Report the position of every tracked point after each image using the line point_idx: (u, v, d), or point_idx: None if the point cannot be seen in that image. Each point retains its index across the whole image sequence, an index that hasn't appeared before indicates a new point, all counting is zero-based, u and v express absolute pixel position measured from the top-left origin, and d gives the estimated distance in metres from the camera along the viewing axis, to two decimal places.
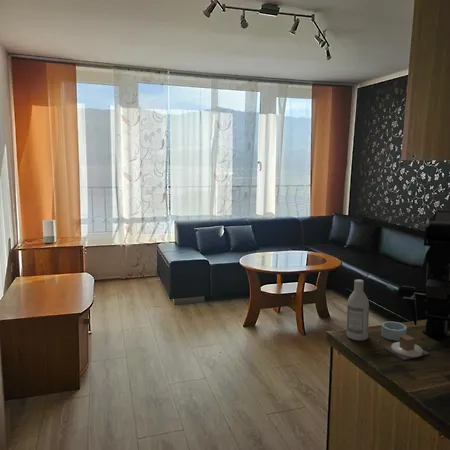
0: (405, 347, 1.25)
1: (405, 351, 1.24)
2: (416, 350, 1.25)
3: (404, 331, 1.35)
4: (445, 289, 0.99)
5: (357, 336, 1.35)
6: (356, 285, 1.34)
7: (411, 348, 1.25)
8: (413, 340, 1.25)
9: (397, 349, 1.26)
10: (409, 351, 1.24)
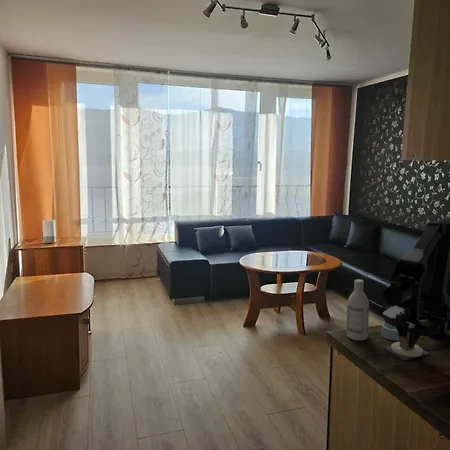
0: (405, 347, 1.25)
1: (405, 351, 1.24)
2: (416, 350, 1.25)
3: None
4: (392, 319, 1.20)
5: (357, 336, 1.35)
6: (356, 285, 1.34)
7: (411, 348, 1.25)
8: None
9: (397, 349, 1.26)
10: (409, 351, 1.24)
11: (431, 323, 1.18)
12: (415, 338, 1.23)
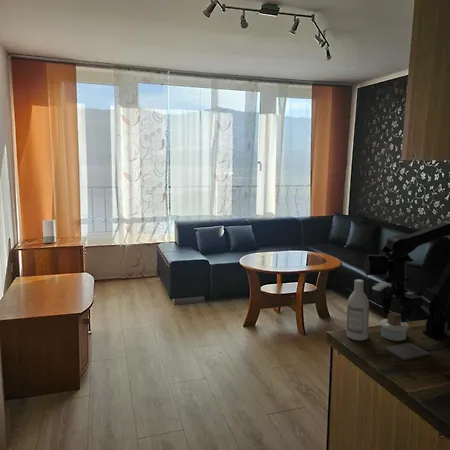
0: (392, 322, 1.36)
1: (392, 326, 1.36)
2: (402, 325, 1.36)
3: (404, 331, 1.35)
4: (380, 292, 1.31)
5: (357, 336, 1.35)
6: (356, 285, 1.34)
7: (398, 323, 1.37)
8: (399, 316, 1.36)
9: (385, 324, 1.37)
10: (396, 326, 1.35)
11: (415, 296, 1.29)
12: (406, 313, 1.33)
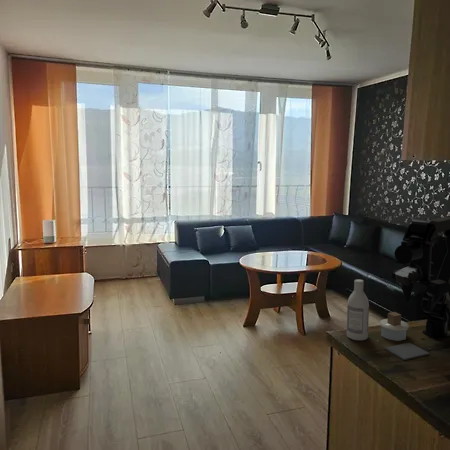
0: (392, 322, 1.36)
1: (392, 326, 1.36)
2: (402, 325, 1.36)
3: (404, 331, 1.35)
4: (404, 278, 1.24)
5: (357, 336, 1.35)
6: (356, 285, 1.34)
7: (398, 323, 1.37)
8: (399, 316, 1.36)
9: (385, 324, 1.37)
10: (396, 326, 1.35)
11: (443, 281, 1.22)
12: (434, 300, 1.24)
